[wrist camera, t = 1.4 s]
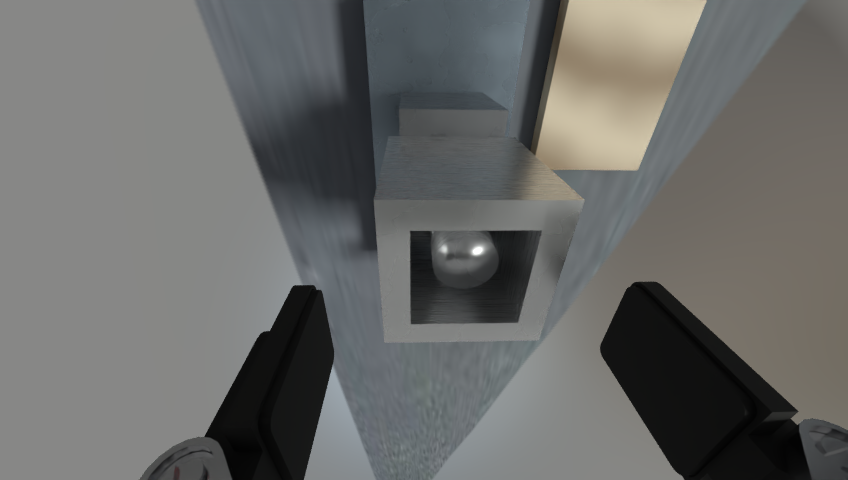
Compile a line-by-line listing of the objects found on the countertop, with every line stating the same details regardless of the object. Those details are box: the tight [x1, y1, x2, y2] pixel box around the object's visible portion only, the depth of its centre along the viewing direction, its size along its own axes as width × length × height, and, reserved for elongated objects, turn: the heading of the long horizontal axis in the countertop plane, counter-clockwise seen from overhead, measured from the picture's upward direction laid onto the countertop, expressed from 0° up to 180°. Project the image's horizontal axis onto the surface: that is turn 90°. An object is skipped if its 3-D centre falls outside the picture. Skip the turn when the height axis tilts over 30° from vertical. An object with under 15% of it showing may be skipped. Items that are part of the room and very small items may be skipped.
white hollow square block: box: [374, 136, 585, 343], centre depth 13 cm, size 6×6×7 cm
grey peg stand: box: [363, 0, 530, 289], centre depth 17 cm, size 18×9×14 cm, turn 179°
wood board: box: [530, 0, 707, 170], centre depth 20 cm, size 14×8×1 cm, turn 179°
